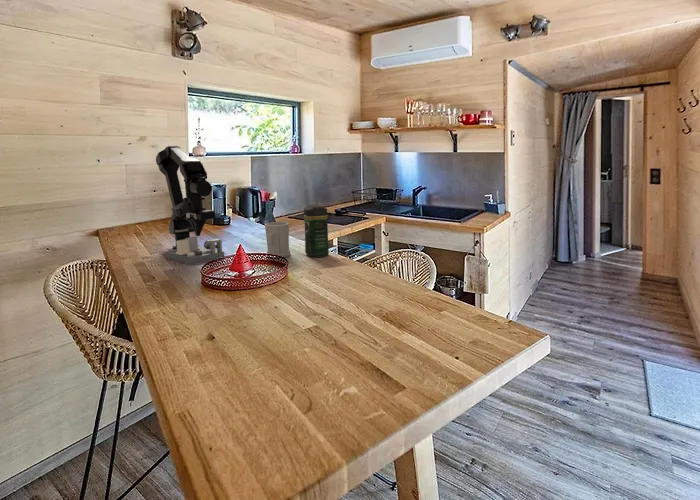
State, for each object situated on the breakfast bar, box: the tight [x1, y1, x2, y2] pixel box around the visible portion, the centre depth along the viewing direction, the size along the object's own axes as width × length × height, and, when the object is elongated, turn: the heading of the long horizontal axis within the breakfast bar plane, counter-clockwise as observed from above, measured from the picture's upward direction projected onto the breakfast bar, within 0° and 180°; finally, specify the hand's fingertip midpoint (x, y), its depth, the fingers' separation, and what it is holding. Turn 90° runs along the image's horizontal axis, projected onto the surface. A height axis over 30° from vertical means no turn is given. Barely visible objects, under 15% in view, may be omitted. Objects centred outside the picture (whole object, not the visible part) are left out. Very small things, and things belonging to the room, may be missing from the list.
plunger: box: [203, 240, 218, 249], centre depth 171 cm, size 6×3×3 cm, turn 48°
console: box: [165, 238, 225, 266], centre depth 172 cm, size 18×14×7 cm
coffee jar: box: [303, 204, 330, 258], centre depth 171 cm, size 10×8×19 cm
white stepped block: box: [185, 236, 200, 252], centre depth 172 cm, size 4×4×5 cm
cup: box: [264, 221, 291, 258], centre depth 171 cm, size 10×9×12 cm
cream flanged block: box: [175, 239, 191, 255], centre depth 167 cm, size 4×4×5 cm
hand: (197, 235), depth 177 cm, fingers closed
